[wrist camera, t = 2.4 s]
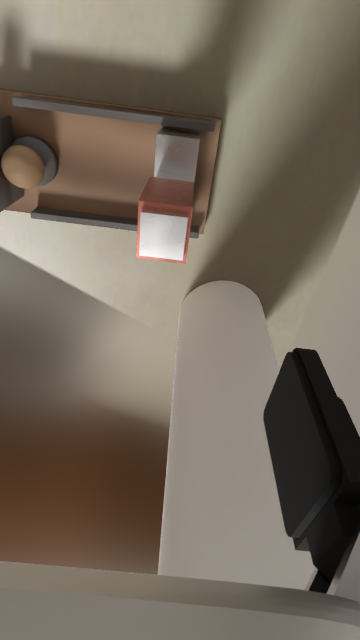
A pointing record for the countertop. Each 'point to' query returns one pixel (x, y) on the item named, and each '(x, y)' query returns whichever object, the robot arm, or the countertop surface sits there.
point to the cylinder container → (224, 448)
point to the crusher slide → (168, 198)
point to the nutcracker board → (91, 158)
